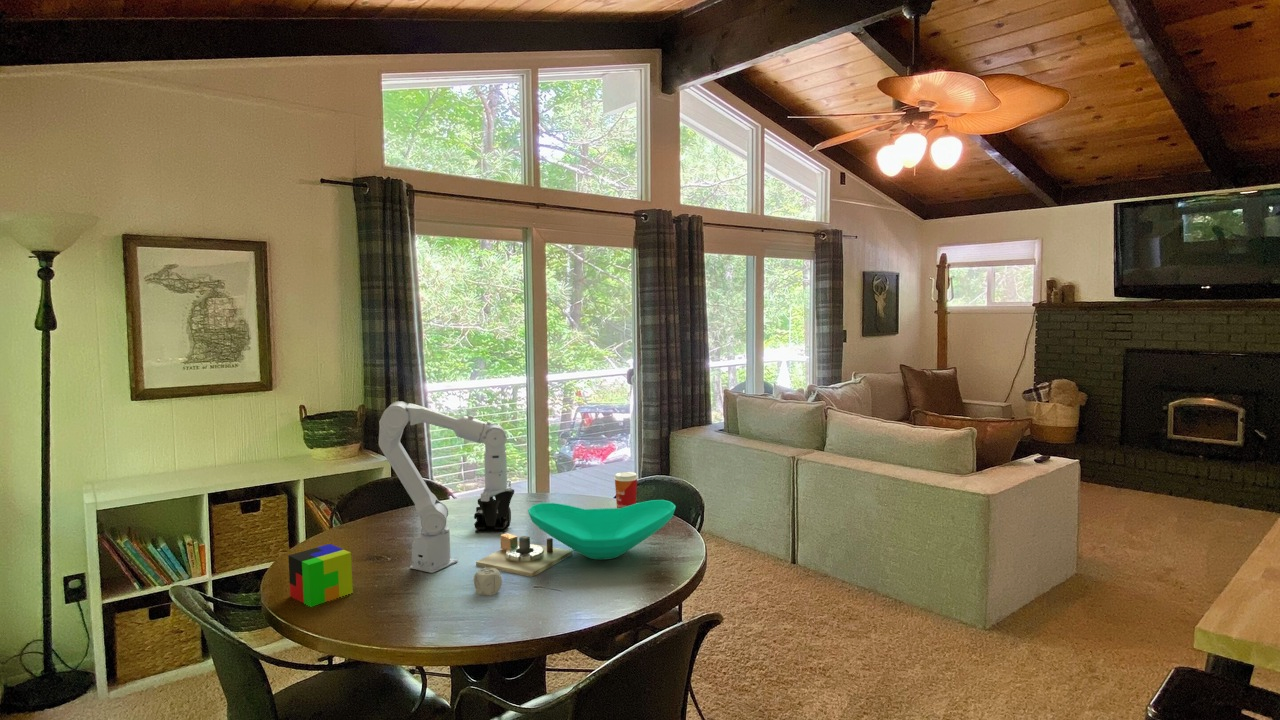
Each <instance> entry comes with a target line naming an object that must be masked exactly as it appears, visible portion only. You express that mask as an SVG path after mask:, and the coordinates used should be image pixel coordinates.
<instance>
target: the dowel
mask: <svg viewBox="0 0 1280 720" xmlns="http://www.w3.org/2000/svg"><path fill="white" fill-rule="evenodd" d="M553 540H554V539H553V537H547V538H546V546H547V552H548V553H551V552H553V547H554V544H553V543H554V541H553Z"/></svg>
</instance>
